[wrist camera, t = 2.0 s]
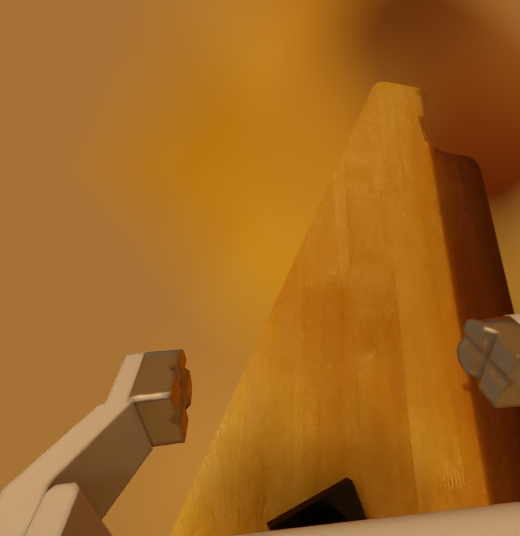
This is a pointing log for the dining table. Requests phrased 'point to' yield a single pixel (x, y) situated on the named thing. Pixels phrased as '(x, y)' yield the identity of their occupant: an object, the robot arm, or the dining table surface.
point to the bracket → (323, 509)
